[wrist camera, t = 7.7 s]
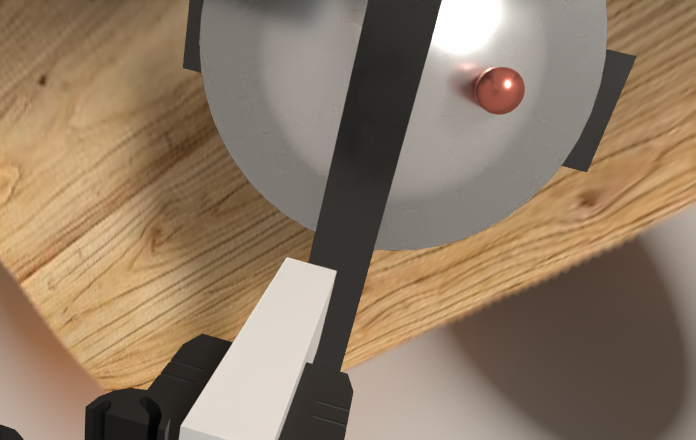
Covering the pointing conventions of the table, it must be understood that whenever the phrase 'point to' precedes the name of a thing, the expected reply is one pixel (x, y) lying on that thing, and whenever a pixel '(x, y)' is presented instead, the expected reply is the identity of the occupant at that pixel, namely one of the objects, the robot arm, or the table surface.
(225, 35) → the lid
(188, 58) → the pot
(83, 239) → the table surface
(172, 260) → the table surface
